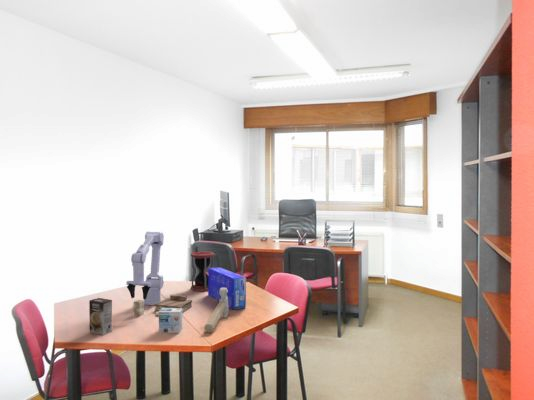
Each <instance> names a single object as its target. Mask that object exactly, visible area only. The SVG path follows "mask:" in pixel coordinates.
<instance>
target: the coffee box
mask: <svg viewBox="0 0 534 400" xmlns="http://www.w3.org/2000/svg"><path fill="white" fill-rule="evenodd" d="M88 304H89V333H90V334H96V335H100V336H104V335H106V334H110V333H111V332H112V331H113V300H112V299H108V298H102V297H97V298H92V299H90V300H89V302H88Z"/></svg>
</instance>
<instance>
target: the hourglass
mask: <svg viewBox="0 0 534 400" xmlns="http://www.w3.org/2000/svg"><path fill="white" fill-rule="evenodd" d="M214 256H215V253H214V252H213V251H195V252H191V253H190V257H191V268H192V270H193V274H192V275H191V286H190V290H192V291H194V292H208V276H209V274H208V273H207V268H214V267H213V266H214ZM194 264H195V266H196V267H197V268H198V269H199V273H198V274H197V275H196V273H197V271H196V268H195V267H194ZM210 264H211V266H210ZM209 266H210V267H209ZM195 275H196V277H195ZM194 277H195V278H194Z"/></svg>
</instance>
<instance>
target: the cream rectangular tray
mask: <svg viewBox="0 0 534 400" xmlns="http://www.w3.org/2000/svg"><path fill="white" fill-rule="evenodd" d="M192 303H193V301H192V302H191V303H190V304H188V305H186V306H184V307H183V308H182V314H184V312H186V311H188V310H189V309H190V308H192ZM154 307H155V308H154V310H155V313H154V314H155V316H158V317H159V311H160V310H161V309H162V308H169V307H159V306H155V305H154Z"/></svg>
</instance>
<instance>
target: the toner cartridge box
mask: <svg viewBox="0 0 534 400" xmlns="http://www.w3.org/2000/svg"><path fill="white" fill-rule="evenodd" d="M220 288H227V290H228V292H227V297H228V308H231V309H232V310H239V309H245V308H246V304H247V303H246V302H247V278H246V277H245V276H243V275H240V274H238V273H235V272H232V271H230V270H228V269H225V268H222V267H221V266H220V267H219V266H217V267H212V268H210V267H208V291H207V295H208V296H209V297H211V298H213V299H215V300H216V301H218V302H219V300H220V299H221V296H220V293H219V291H220Z"/></svg>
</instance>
